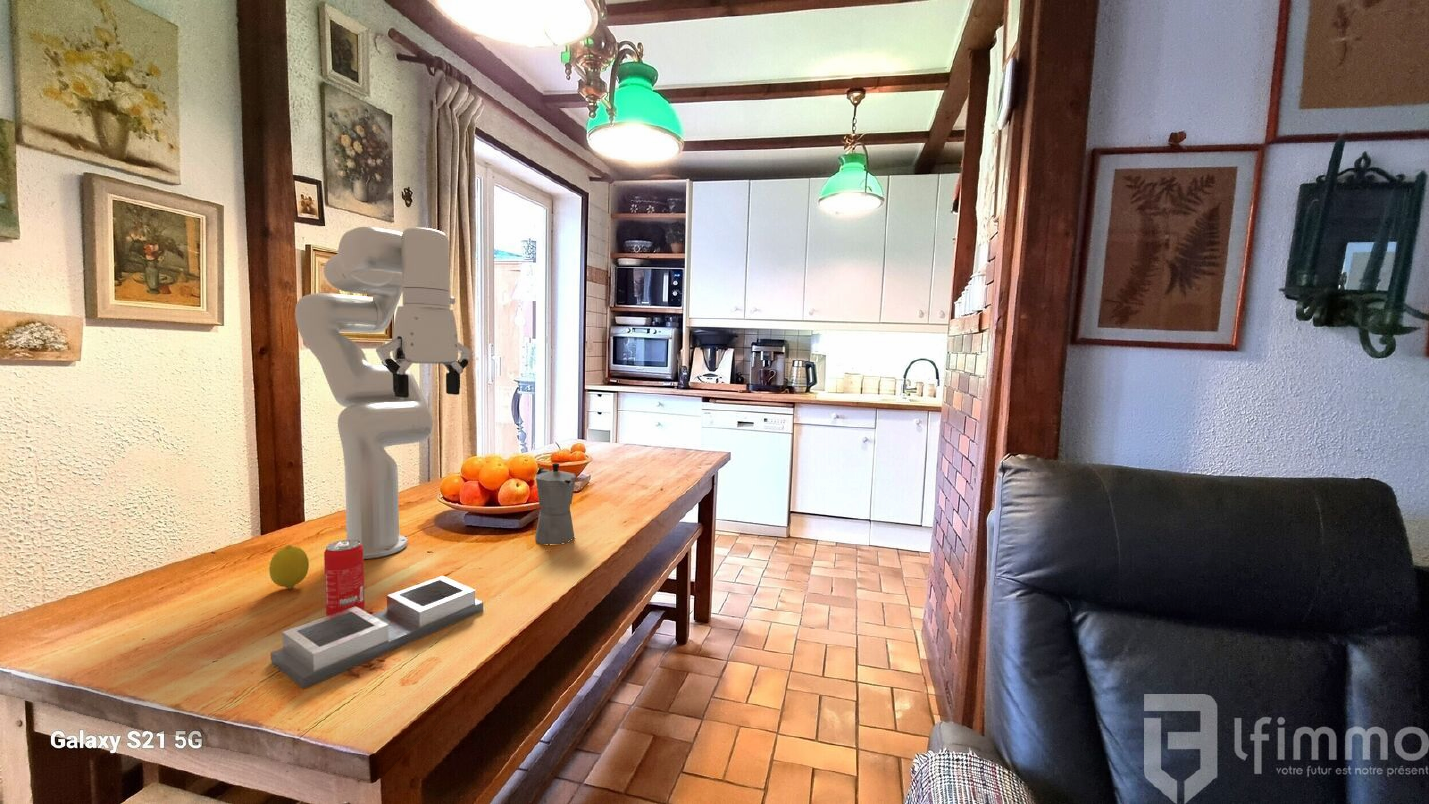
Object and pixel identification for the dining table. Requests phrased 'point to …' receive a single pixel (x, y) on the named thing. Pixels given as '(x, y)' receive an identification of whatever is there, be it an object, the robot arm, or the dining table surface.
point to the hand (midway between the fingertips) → (428, 395)
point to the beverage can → (344, 576)
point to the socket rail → (372, 630)
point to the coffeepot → (554, 505)
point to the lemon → (289, 566)
